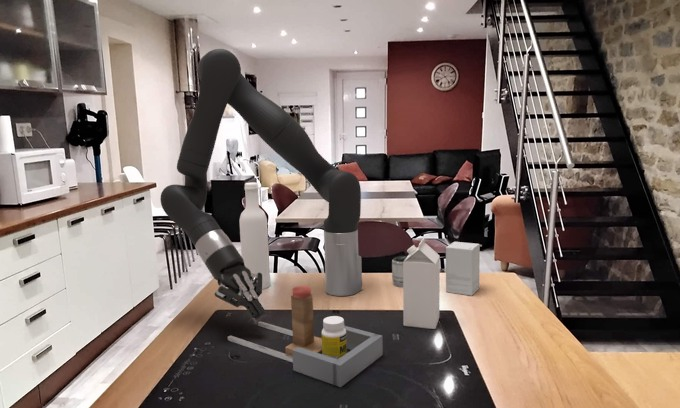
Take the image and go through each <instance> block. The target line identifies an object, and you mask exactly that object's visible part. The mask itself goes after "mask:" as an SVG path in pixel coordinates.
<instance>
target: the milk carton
mask: <svg viewBox="0 0 680 408" xmlns="http://www.w3.org/2000/svg"><path fill="white" fill-rule="evenodd" d="M406 252H407V253H408V255H406V256H407V258H406V259H405V260H404V262H403V287H402V288H403V291H402V292H403V296H402V299H403V301H402V302H403V306H402V307H403V308H402V310H403V316H402V317H403V326H404V327H411V328H421V329H432V330H436V329H437V326H438V324H439V323H438V322H439V319H440V280H441V276H440V269H441V268H440V267H441V265H440V261H441V258H440V257H441V256H440V254H438V252H436V251H435V250H434V249H433V248H432V247H431V246H430V245H429V244H427V243H426V237H423V238H422V239H421V241H420V242H419V244H418V247H416V246H415V244H413V245H411V246H410V247H409V248H408V249H407V250H406Z"/></svg>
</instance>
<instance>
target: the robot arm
mask: <svg viewBox="0 0 680 408" xmlns="http://www.w3.org/2000/svg"><path fill="white" fill-rule="evenodd" d="M241 67H242V66H241V64H240V61H239V59H238V58H237V56H236V55H235V54H234V53H233V52H231V50H230V51H229V50H227V49H226V48H225V49H224V48H216V49H212V50H210V51H207V52H206V53H205V54H204V55H203V56H202V57H201V58H200V60H199V62H198V65H197V69H196V70H197V76H198V78H199V81H200V84H199V93H198V97H197V101H196V106H195V107H194V108H195V109H194V112H193V115H192V117H191V120H190V122H189V125H188V128H187V129H186V133H185V134H184V135H185V136H184V137H183V142H182V144H181V149H180V153H179V156H178V159H177V164H176V170H177V171H178V173H180V174H181V175H184V185H183V184H170V185H168V186H166V187H165V188H163V190H162V192H161V193H160V198H159V199H160V204H161V207H162V209H163V211H164V213H165V215H166V216H167V217H168V218H169V220H171V221H172V222H173V223H174V224H175V225H177V227H179V228H180V229H181V230H182V231H184V232H185V234H186V235H187V237H188V239H189V240H190V242H191V243H192V244H193V246H194V247H195V249H196V252H197V253H198V256H199V257H200V258H201V260H202V262H203V263H204V265H205V266H206V268H207V270H208V271H209V273H210V274H211V276H212V277H213V279H214V280H216V282H217V285H218V288H217V290H216V291H215V292H214V296H215V298H218V299H220V300H221V301H222V302H225V303H227V304H230V305H232V306H234V307H235V308H239V307H244V308H245V309H246V311H248V313H249V314H250V316H251V318H253V319H254V320H255V321H257V320H259V319H262V318H263V317H264V316H265V315H266V310H265V308H264V307H263V305H262V303H261V301H259V297H261V295H262V294H263V289H262V274H261V273H258V274H253V273H251V271H250V270H249V269H248V268H246V267H245V265H244V260H243V258H242V255H241V253H240V252H239V251H238V249H237V248H236V247H235V245H234V243H233V242H232V240H231V239H230V238H229V236H228V235H227V234H226V233H225V232H224V230H223V229H222V228H221V227H220V225H219V223H218V222H217V221H216V219H215V218H214V216H213V215H211V214H210V213H208V212H205V211H203V209H204V207H205V205H206V202H207V195H208V194H207V193H208V171H209V167H210V163H211V160H212V156H213V153H214V152H213V151H214V149H215V145H216V142H217V138H218V137H217V136H218V133H219V129H220V126H221V124H222V123H221V122H222V119H223V116H224V113H225V111H226V109H227V108H226V107H227V105H229V106H230V107H231V108H232V109H233V110H234V111H236V112H237V113H238V114H239V116H240V117H241V118H242V119H243V120H244V121H245V123H246V124H247V125H248V126H249V127H250V128H251V129H252V130H253V131H254V132H255V133H256V135H257V136H258V137H260V139H261V140H262V141H263V142H264V143H265V144H266V145H268V147H269V148H271V149H272V150H273V151H274V152H275V153H276V154H277V155H279V156H280V157H281V158H282V159H283V160H284V161H285V162H286V163H288V164H289V165H290V166H291V167H293V168H294V169H295V170H296V171H298V172H299V173H300V174H301V175H302V176H303V177H304V178H305V179H306V180H307V181H308V182H309V184H310V185H311V186H312V187H313V188H314V190H315V191H316V192H317V193H318V194H319V196H320V197H321V198H322V199H323V200H324V201H325V202H328V215H327V218H325V219H324V220H323V242H324V245H323V246H324V271H325V272H324V273H325V276H324V277H325V292H326V293H327V294H328V295H331V296H337V297H345V296H347V297H348V296H352V295H356V294H357V293H359V292H360V291H362V290H363V275H362V274H363V272H362V263H363V262H362V256H361V255H359V230H358V229H359V222H360V218H361V213H362V212H361V207H362V206H361V205H362V203H361V202H362V189H361V183H360V181H359V179H358V177H357V175H355V174H354V173H352V172H350V171H346V170H340V169H338V168H336V167H335V166H334V165H332V164H331V163H330V162H329V161H327V160H326V158H324V157H323V155H321V154H320V153H319V152H318V150H317V148H316V147H315V145H314V144H313V142H312V140H311V138H310V136H309V135H308V133H307V132H306V130H305V129H304V128H303V127H302V126H301V125H300V123H298V122H297V121H296V120H295V119H294V118H293V116H291V114H289V113H288V112H287V111H286V110H285V109H283V108H282V107H281V106H280V105H278V104H277V103H275V102H274V101H272V99H269V98H268V97H267V96H265V95H264V94H262V93H261V92H260V91H258V90H257V89H256V88H255V87H254V86H253V85H252V84H251V83H250V82H249V80H247V78H246V77H245V76H244V75H243V74H242V68H241Z"/></svg>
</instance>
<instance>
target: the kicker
mask: <svg viewBox="0 0 680 408" xmlns="http://www.w3.org/2000/svg"><path fill="white" fill-rule="evenodd" d="M311 291H312V290H311V287H309V286H305V285H299V286H295V287H293V288H292V292H291V293H292V294H291V296H290V302H291V303H290V305H291V306H290V307H291V324H292V325H291V326H292V331H293V336H292V343H290V344H288V345H287V346H285V351H284V352H285V354H288V355H290V356H293V351H292V350H294V349H295V348H297V347H300V348H303V349H307V350H310V351H313V352H316V353H319V354H322V337H318V336H315V330H314V329H315V328H314V327H315V325H314V305H313V304H314V303H313V302H314V301H313V300H314V298H313V297H314V296H313V294H312V293H311Z"/></svg>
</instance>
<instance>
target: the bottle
mask: <svg viewBox="0 0 680 408" xmlns="http://www.w3.org/2000/svg"><path fill="white" fill-rule="evenodd" d="M243 188H244V191H245V192H244V193H245V195H244V197H245V208H244V210H243V211H242V212H241V213H240V216H239V236H240V237H239V238H240V255H241V257H242V258H243V260H244V265H245V267H246V268H248V269H249V270H250V271H251V273H253V274H258V273H261V274H262V290H265V289H267V288H269V287H270V286H271V274H270V272H271V271H270V268H271V267H270V255H269V254H270V251H269V249H270V248H269V232H268V231H269V230H268V218H267V215H266V213H265V211H264V210H263V209H262V208H261V207H260V200H259V199H260V198H259V185H258V182H253V181H252V182H246V183H244V187H243Z"/></svg>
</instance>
